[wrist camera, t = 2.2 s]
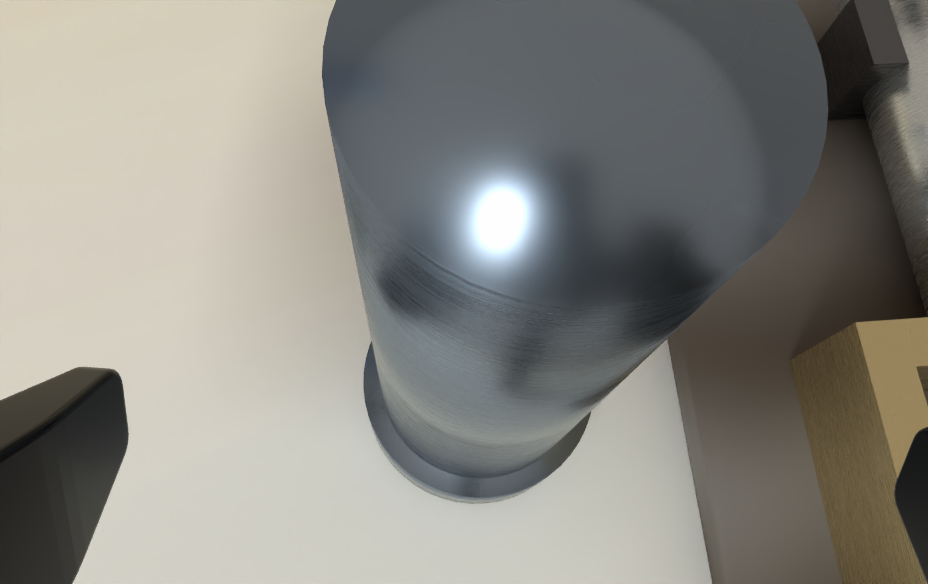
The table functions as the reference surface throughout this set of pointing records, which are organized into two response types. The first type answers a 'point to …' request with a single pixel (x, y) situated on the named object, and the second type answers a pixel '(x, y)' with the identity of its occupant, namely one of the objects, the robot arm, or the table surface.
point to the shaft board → (786, 359)
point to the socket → (874, 342)
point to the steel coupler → (551, 203)
